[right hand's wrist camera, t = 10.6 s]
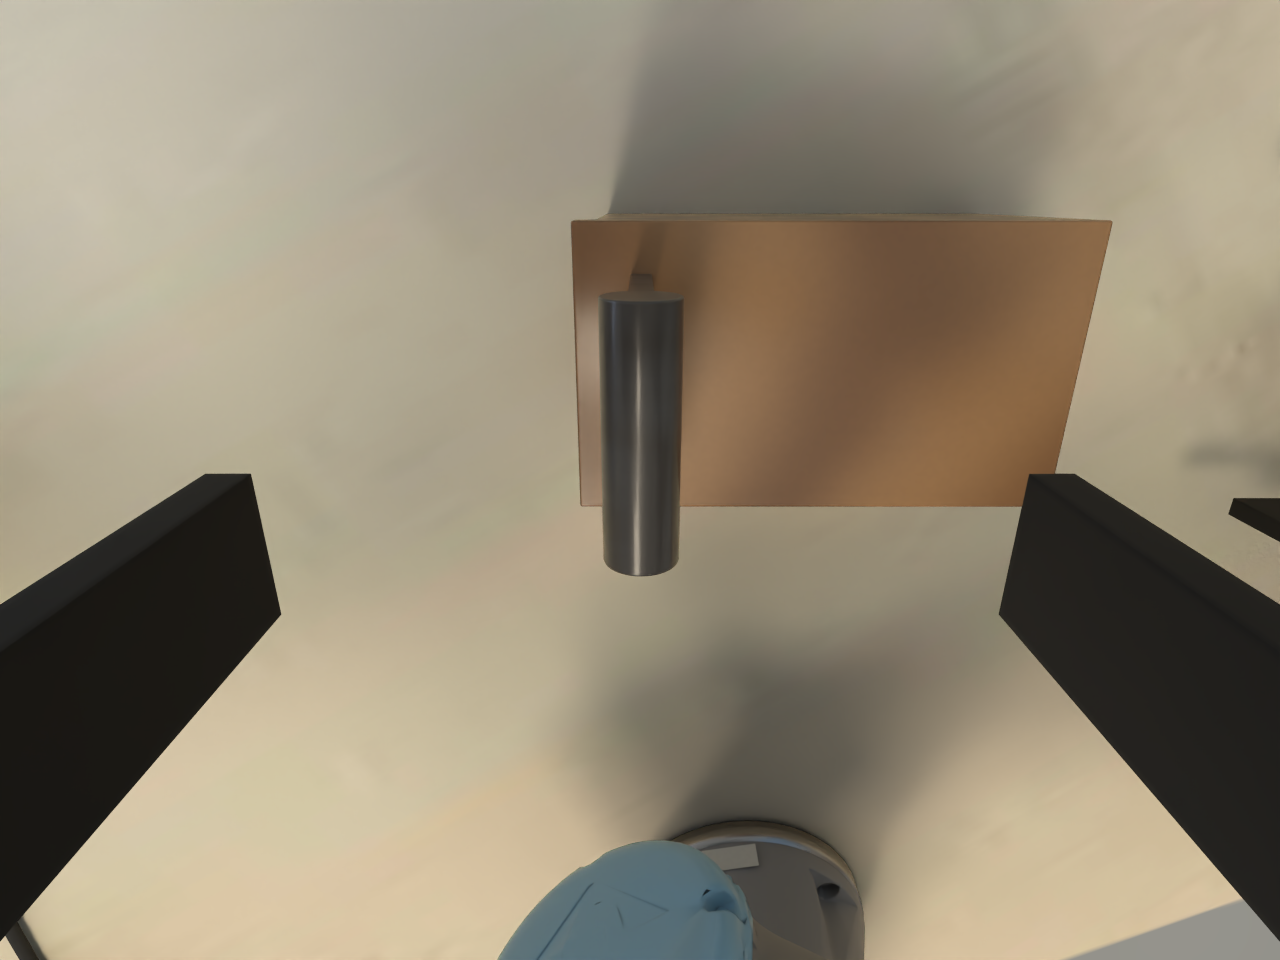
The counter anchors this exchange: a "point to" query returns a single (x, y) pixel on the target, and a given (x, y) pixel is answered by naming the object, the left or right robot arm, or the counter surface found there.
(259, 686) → the counter surface
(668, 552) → the lid
